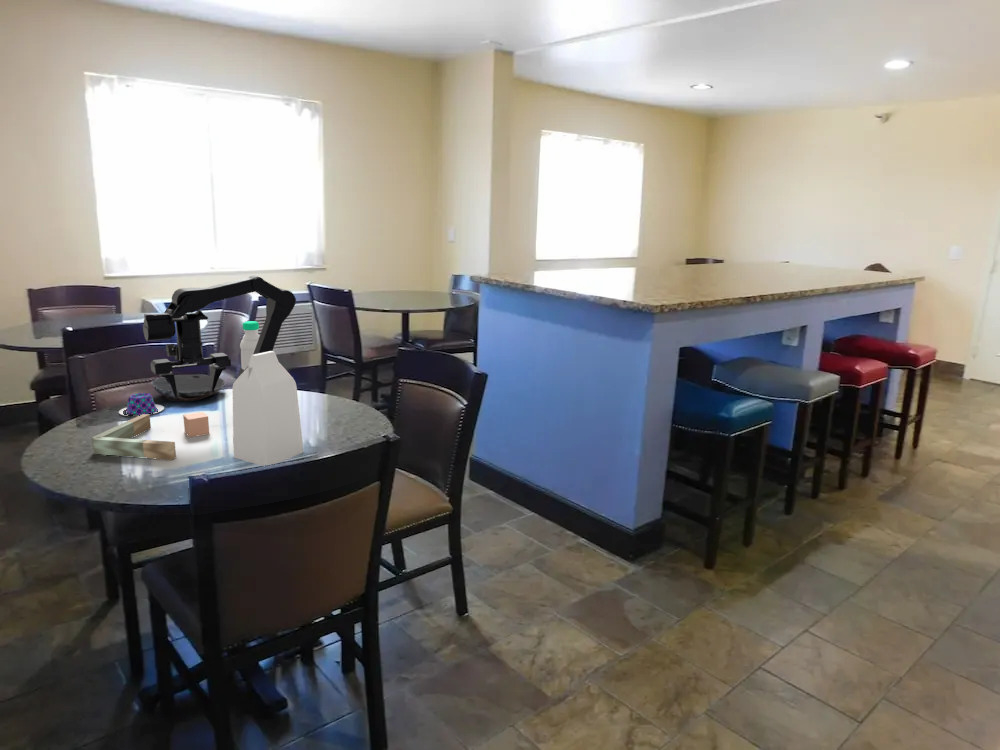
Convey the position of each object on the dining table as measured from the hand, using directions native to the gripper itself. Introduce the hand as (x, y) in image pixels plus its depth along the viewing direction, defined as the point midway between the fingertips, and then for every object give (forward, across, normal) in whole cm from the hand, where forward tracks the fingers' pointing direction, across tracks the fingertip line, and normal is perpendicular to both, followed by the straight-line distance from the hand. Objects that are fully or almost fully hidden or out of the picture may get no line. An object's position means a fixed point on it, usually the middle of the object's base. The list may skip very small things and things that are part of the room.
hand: (194, 394), depth 181 cm
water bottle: (+11, -24, -24) cm, 36 cm away
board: (+11, -8, -40) cm, 42 cm away
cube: (+11, 0, 0) cm, 11 cm away
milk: (+11, -10, +27) cm, 31 cm away
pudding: (+11, +8, -29) cm, 32 cm away
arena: (+11, +11, +3) cm, 15 cm away
